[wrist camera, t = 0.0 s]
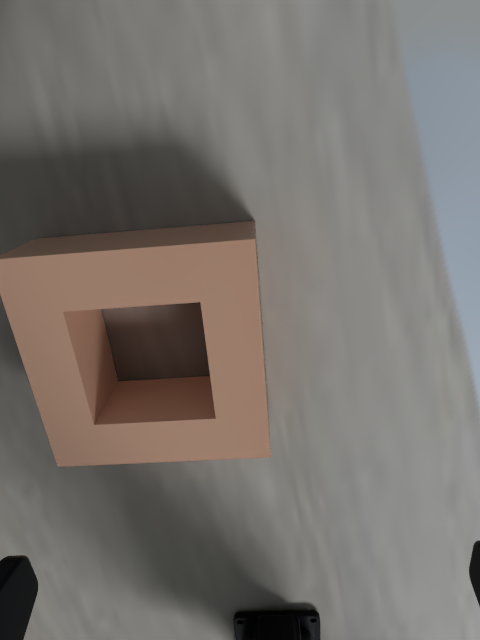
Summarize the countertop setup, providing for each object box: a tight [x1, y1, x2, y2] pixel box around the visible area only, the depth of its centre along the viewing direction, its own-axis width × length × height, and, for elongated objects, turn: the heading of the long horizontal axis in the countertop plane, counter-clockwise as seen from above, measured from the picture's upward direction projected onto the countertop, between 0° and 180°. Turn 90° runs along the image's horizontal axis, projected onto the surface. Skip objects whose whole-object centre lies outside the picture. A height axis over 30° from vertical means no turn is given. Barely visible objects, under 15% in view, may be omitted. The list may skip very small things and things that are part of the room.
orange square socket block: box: [0, 221, 271, 467], centre depth 21 cm, size 11×11×4 cm
